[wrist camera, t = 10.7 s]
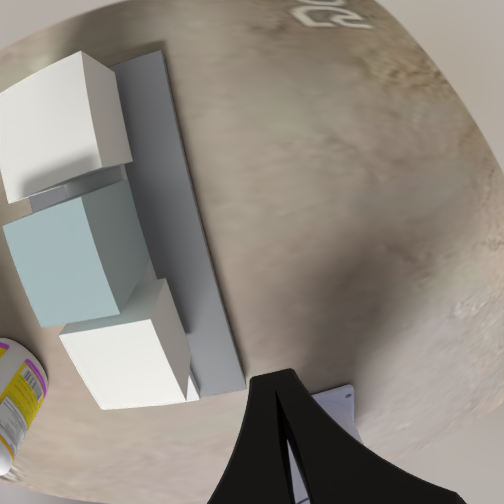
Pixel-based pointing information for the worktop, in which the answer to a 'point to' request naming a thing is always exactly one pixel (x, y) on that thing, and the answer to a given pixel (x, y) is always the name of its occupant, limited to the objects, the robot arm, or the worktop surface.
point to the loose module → (80, 255)
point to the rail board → (150, 218)
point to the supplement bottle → (18, 397)
